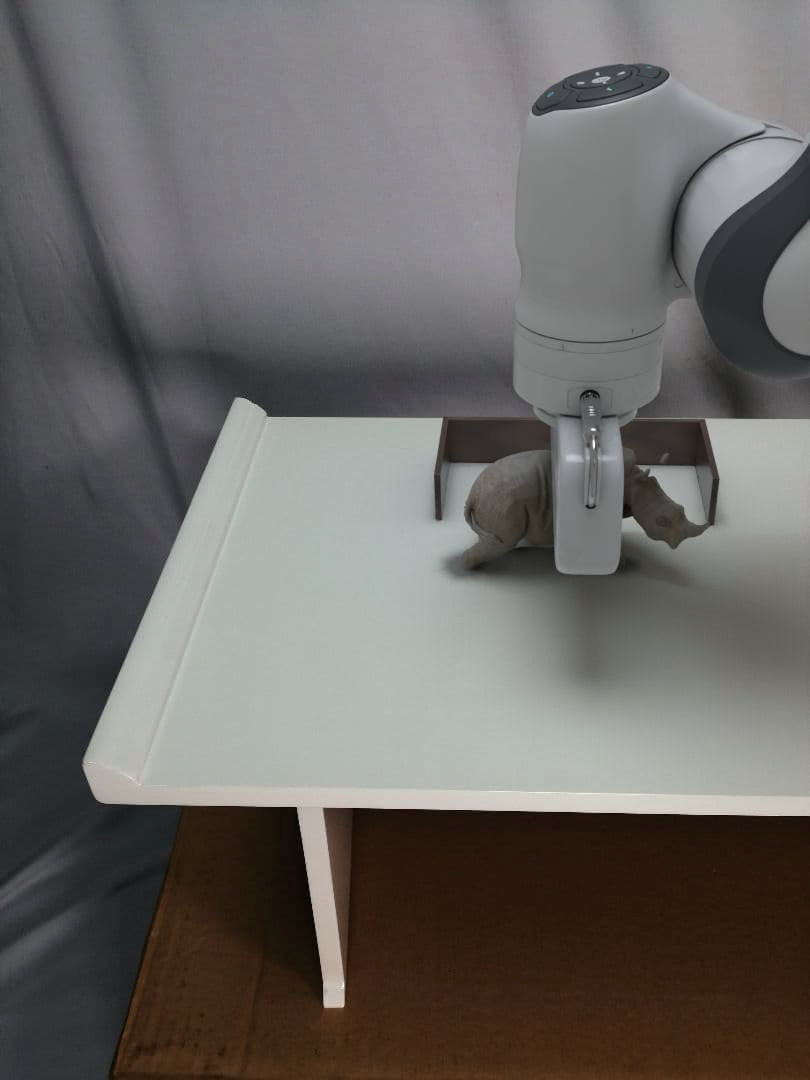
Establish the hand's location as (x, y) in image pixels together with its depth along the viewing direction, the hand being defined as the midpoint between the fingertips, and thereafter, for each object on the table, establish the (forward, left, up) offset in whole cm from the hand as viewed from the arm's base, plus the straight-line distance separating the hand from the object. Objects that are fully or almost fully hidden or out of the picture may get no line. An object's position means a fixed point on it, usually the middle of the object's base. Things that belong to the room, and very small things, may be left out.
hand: (577, 551), depth 77 cm
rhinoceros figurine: (0, -5, -5) cm, 7 cm away
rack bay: (0, -16, -5) cm, 16 cm away
